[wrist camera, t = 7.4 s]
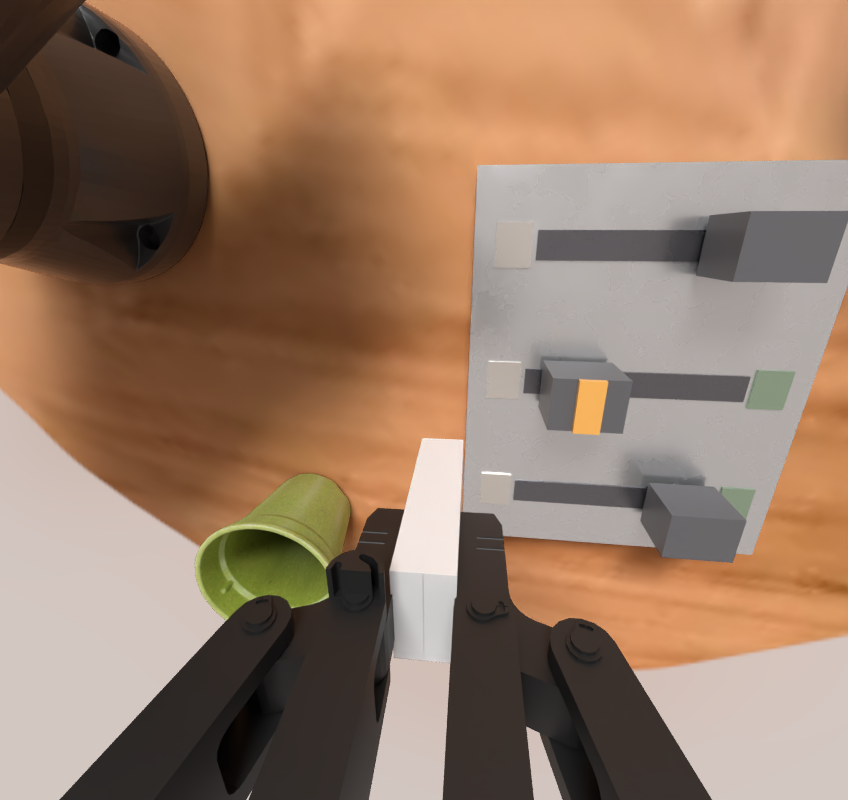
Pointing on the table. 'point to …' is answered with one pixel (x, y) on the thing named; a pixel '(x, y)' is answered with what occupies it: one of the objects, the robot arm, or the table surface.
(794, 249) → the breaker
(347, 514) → the plant pot
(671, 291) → the panel
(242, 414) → the table surface
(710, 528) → the block
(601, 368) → the breaker
